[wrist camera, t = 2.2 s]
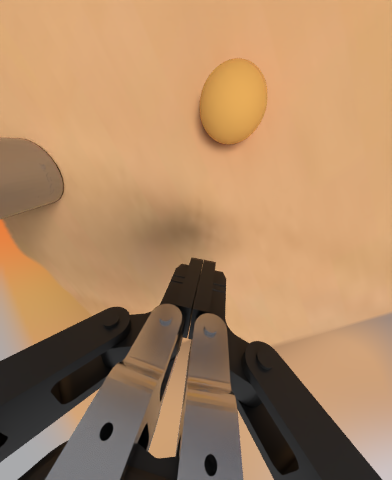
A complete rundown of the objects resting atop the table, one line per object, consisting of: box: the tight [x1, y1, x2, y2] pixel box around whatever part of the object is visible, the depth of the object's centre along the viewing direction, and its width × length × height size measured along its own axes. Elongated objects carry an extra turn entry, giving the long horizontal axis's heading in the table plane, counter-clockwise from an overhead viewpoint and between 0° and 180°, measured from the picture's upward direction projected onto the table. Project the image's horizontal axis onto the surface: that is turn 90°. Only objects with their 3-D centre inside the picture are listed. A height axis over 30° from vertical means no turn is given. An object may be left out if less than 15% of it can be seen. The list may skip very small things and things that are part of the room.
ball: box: [200, 58, 267, 144], centre depth 15 cm, size 6×6×6 cm
